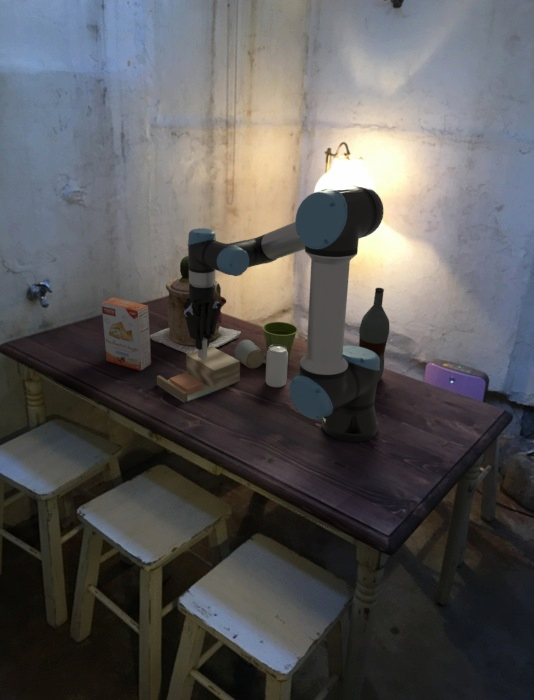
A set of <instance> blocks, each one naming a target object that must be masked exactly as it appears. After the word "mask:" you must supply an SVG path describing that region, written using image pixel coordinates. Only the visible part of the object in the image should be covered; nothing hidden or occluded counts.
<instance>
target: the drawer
mask: <svg viewBox="0 0 534 700" xmlns="http://www.w3.org/2000/svg"><path fill="white" fill-rule="evenodd" d="M156 385H157V386H158V387H160V388H161V389H163V390H164V391H165V392H167V393H169V394H170V395H171V396H174V397H175V398H176V399H178V400H179V401H180V402H182V403H184V404H185V403H188V402H191V401H192V400H195V399H198V398H201V397H204V396H206V395H209V394H211V393H213V392H215V391H214V390H213V389H212V388H210V387H208V386H207V385H205V384H204V389H203V390H200V391H197V392H195V393H192V394H190V395H187V392H185V391H183V390H182V389H180V388H179V387H177V386H176V385H174V384H173V383H171V382H170V381H169V379H166V378H165V377H163V376H162V375H160V374H159V375H157V376H156Z"/></svg>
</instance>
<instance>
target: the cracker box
mask: <svg viewBox="0 0 534 700" xmlns="http://www.w3.org/2000/svg"><path fill="white" fill-rule="evenodd" d="M101 311H102V321H103V322H102V323H103V334H104V335H103V336H104V346H105V356H106V357H105V358H106V362H108V363H109V362H110V363H113V364H116V365H120V366H121V367H122V366H123V367H125V368H129V369H132V370H136V371H139V372H142V371H143V370H145V369H146V368H148V367H149V366H151V365H152V357H151V356H152V354H151V338H150V335H151V334H150V333H151V332H150V331H151V330H150V314H149V305H147V304H142V303H140V302H139V303H138V302H134V301H130V300H125V299H121V298H119V297H118V298H117V297H111V298H109V299H106V300H103V301H102V302H101Z"/></svg>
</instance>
